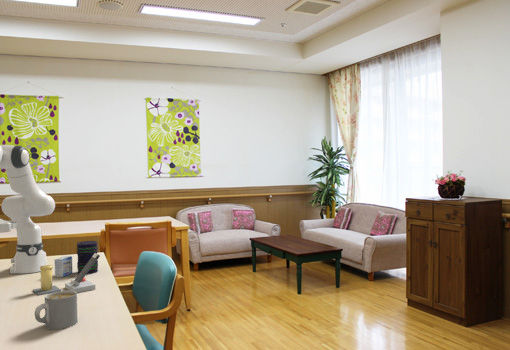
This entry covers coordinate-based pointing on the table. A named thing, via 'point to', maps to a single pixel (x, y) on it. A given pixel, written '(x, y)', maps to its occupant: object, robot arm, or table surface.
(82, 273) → the toggle
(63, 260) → the medicine box
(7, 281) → the table surface
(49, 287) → the yellow lidded cup
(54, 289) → the pad
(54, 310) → the coffee mug
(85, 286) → the panel
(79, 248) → the storage jar
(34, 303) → the table surface
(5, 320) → the table surface
